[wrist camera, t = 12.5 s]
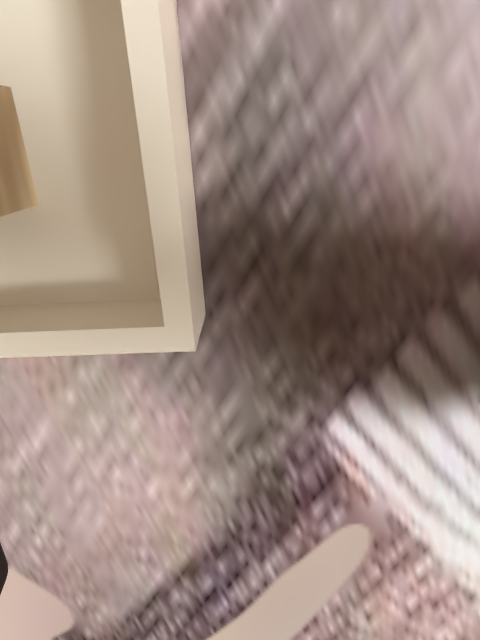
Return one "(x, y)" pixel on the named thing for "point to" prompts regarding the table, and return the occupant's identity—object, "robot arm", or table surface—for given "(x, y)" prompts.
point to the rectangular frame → (99, 182)
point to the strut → (13, 160)
